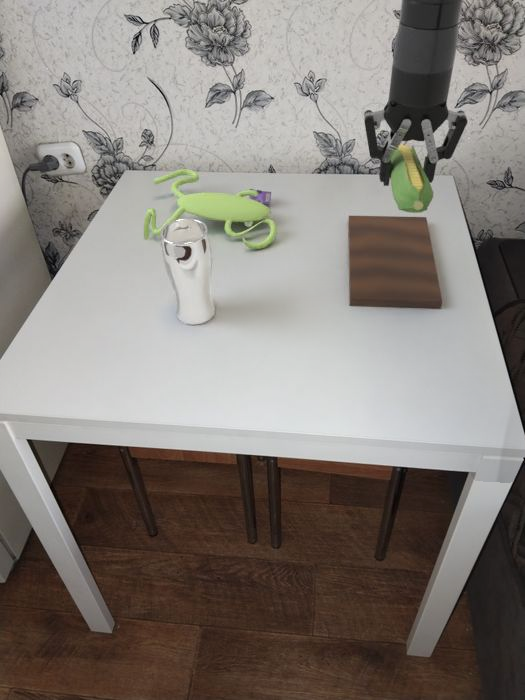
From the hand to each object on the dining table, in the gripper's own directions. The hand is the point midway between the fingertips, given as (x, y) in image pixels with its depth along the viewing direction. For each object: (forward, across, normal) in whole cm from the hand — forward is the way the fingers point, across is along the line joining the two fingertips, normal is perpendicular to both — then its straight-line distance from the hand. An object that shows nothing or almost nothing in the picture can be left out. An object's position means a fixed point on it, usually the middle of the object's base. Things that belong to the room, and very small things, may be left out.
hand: (405, 183), depth 86 cm
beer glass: (+17, -31, -11) cm, 37 cm away
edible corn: (+1, 0, 0) cm, 1 cm away
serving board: (+17, 0, +4) cm, 17 cm away
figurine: (+17, -33, +16) cm, 40 cm away
